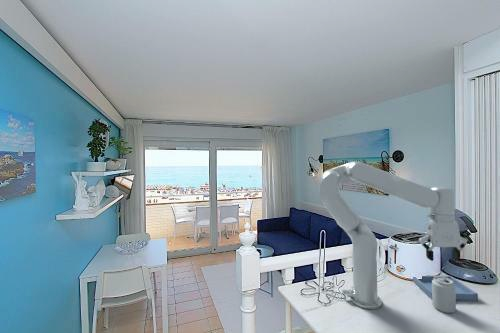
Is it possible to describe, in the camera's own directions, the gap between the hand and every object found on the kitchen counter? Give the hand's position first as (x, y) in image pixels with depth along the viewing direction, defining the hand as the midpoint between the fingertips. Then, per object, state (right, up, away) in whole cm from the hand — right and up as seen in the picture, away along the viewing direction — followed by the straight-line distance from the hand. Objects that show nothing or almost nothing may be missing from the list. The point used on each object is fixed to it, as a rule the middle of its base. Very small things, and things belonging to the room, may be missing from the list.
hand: (443, 259), depth 97 cm
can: (+1, -20, 0) cm, 20 cm away
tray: (+10, -19, +13) cm, 26 cm away
